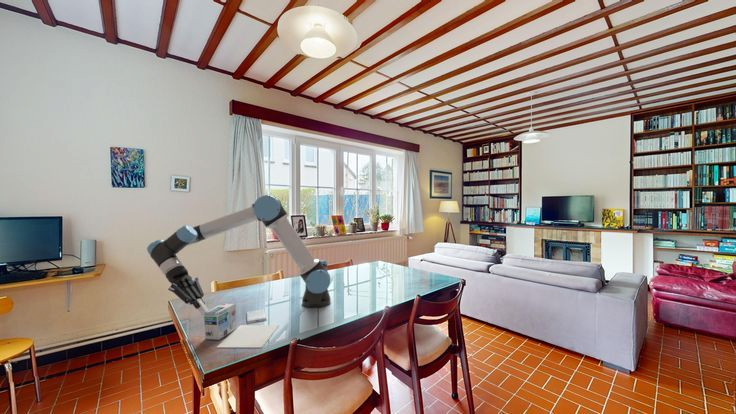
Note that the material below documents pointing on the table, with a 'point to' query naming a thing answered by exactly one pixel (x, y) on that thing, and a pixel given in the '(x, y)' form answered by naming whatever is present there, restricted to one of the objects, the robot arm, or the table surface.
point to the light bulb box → (220, 321)
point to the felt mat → (249, 336)
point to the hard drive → (256, 316)
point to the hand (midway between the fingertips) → (205, 312)
